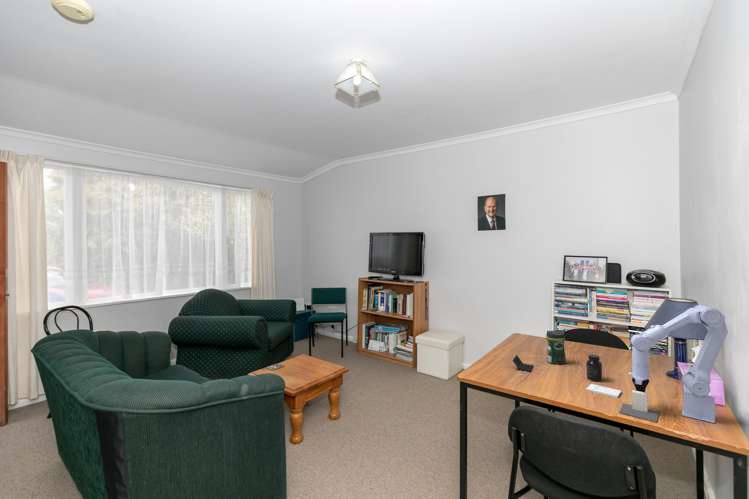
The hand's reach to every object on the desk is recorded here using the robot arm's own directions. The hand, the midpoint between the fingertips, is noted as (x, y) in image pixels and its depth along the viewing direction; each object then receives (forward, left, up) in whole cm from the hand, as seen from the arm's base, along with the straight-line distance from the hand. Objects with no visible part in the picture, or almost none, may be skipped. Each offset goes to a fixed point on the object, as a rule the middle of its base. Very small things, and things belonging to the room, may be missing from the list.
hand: (640, 396), depth 148 cm
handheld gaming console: (+54, -17, -5) cm, 57 cm away
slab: (0, +3, -4) cm, 5 cm away
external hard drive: (+15, -9, -5) cm, 18 cm away
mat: (0, +6, -5) cm, 8 cm away
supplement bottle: (+21, -23, -5) cm, 32 cm away
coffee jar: (+43, -38, -5) cm, 58 cm away
